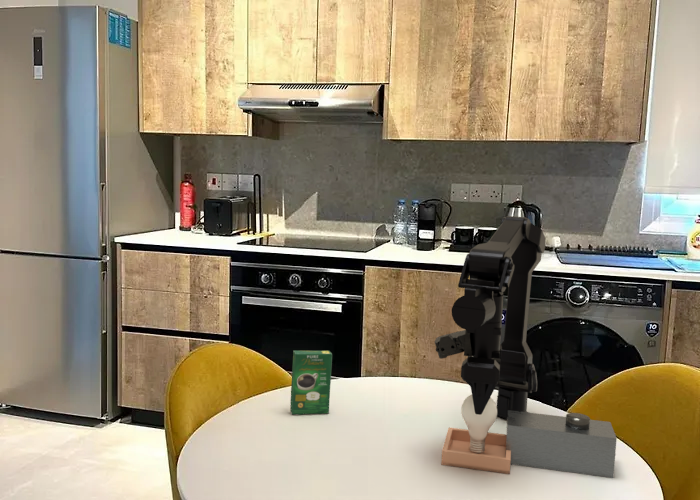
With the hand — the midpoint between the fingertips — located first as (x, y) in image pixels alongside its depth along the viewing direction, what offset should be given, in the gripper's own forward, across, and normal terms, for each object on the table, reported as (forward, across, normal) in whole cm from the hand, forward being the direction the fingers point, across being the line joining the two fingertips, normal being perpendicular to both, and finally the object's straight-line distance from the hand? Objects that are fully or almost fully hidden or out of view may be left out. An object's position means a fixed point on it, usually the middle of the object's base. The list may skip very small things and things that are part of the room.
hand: (479, 405), depth 120 cm
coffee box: (+10, -11, -35) cm, 38 cm away
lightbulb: (+9, 0, 0) cm, 9 cm away
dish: (+9, 0, 0) cm, 9 cm away
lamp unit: (+9, -3, +14) cm, 17 cm away
